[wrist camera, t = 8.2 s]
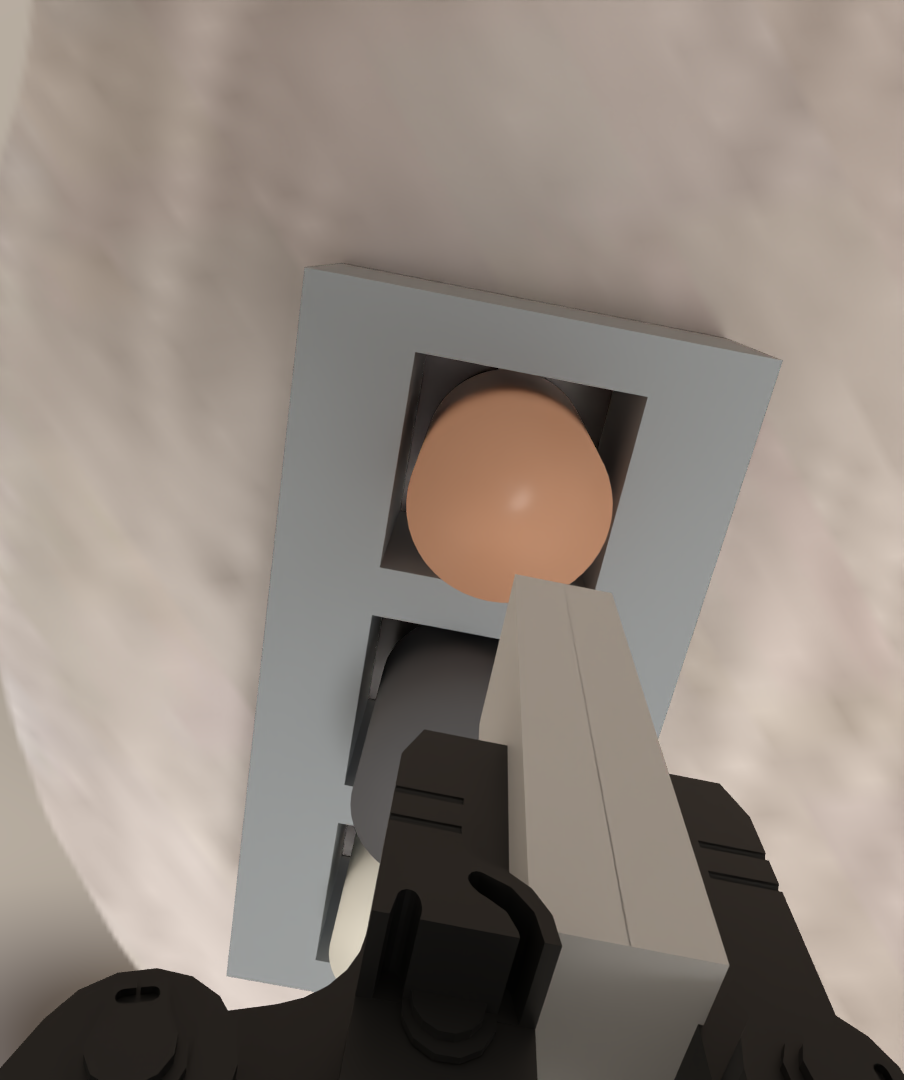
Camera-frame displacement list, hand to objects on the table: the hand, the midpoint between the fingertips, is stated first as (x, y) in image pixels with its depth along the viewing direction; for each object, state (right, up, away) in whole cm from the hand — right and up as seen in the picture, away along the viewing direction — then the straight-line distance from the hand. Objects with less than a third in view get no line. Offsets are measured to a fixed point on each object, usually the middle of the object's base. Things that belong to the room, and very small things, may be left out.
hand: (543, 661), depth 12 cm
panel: (-1, -2, +16) cm, 16 cm away
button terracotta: (0, +5, +12) cm, 13 cm away
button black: (-1, -3, +13) cm, 14 cm away
